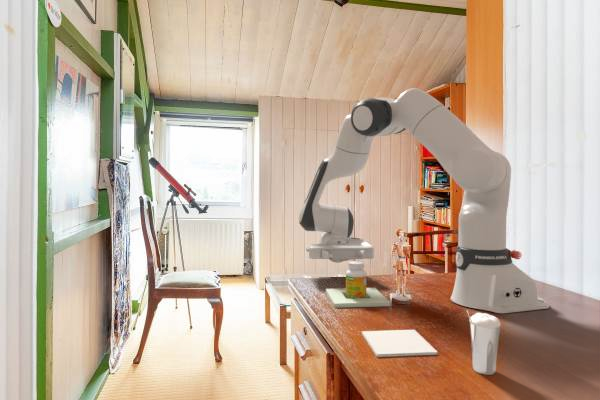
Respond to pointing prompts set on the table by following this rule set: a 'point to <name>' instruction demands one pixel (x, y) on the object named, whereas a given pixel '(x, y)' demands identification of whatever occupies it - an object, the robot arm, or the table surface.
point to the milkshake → (484, 342)
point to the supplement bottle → (356, 280)
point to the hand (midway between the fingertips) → (345, 256)
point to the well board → (372, 299)
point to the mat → (398, 343)
